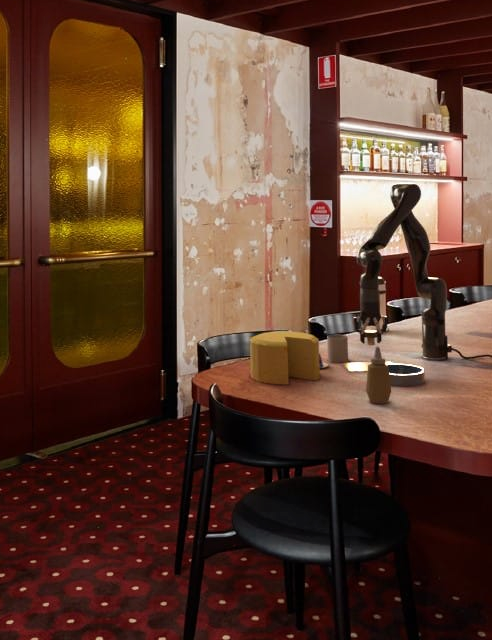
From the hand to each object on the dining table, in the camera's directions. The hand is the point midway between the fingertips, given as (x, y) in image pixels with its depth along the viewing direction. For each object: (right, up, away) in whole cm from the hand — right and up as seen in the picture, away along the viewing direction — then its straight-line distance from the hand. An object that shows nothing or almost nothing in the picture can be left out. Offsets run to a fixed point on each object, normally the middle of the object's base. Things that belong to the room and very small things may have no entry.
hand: (370, 342), depth 283 cm
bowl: (+5, -10, -21) cm, 24 cm away
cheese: (-35, -11, -8) cm, 37 cm away
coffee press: (+22, -10, +81) cm, 84 cm away
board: (0, -10, 0) cm, 10 cm away
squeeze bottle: (-9, -10, -46) cm, 48 cm away
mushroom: (0, -1, 0) cm, 1 cm away
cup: (-10, -11, +16) cm, 22 cm away
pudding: (-22, -11, +6) cm, 25 cm away
